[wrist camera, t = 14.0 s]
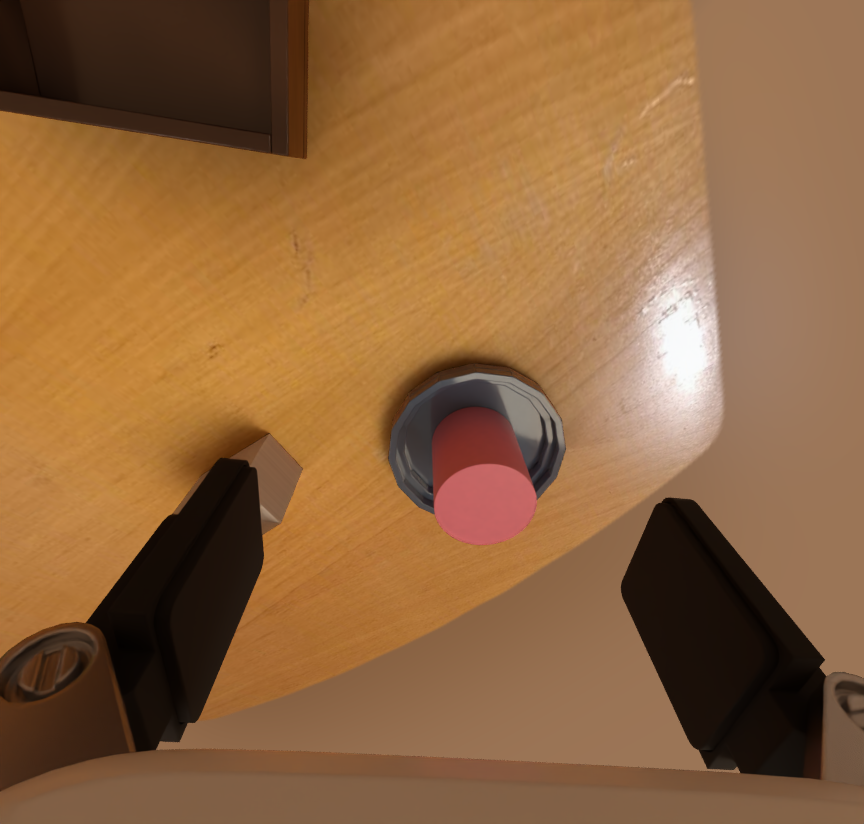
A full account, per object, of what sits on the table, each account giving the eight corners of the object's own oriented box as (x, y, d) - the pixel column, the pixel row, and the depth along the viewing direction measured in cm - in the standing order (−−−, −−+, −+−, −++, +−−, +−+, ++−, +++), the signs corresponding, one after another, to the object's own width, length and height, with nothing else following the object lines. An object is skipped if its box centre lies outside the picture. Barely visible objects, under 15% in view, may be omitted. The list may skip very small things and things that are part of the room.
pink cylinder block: (523, 411, 31) (548, 469, 25) (505, 481, 34) (523, 549, 28) (438, 401, 31) (442, 458, 25) (426, 473, 34) (427, 540, 27)
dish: (577, 373, 31) (587, 385, 29) (534, 511, 36) (540, 529, 34) (400, 351, 30) (399, 362, 28) (383, 496, 35) (381, 513, 33)
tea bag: (200, 475, 34) (121, 582, 25) (269, 433, 32) (211, 531, 23) (235, 508, 35) (173, 619, 26) (302, 469, 34) (260, 573, 25)
